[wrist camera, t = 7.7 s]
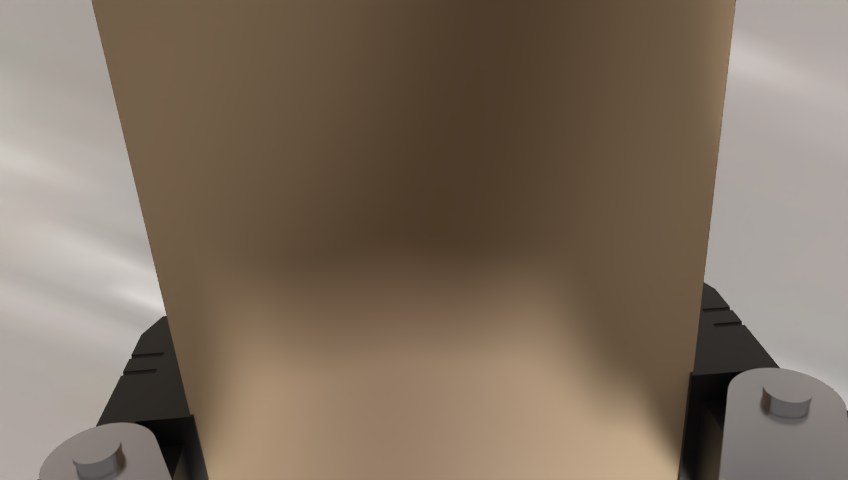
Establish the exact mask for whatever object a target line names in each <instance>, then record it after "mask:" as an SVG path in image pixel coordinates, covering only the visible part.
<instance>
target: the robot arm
mask: <svg viewBox="0 0 848 480" xmlns="http://www.w3.org/2000/svg"><path fill="white" fill-rule="evenodd" d="M38 480H209V477H208V473H207V469H206V464H205V460H204V456H203V452H202V447H201V443H200V439H199V435H198V430H197V426H196V422H195V418H194V414H191V415H190V411H189V407H188V403H187V399H186V395H185V390H184V386H183V382H182V378H181V374H180V369H179V365H178V361H177V357H176V353H175V348H174V344H173V340H172V336H171V332H170V327H169V323H168V319H167V316H163V317H162V318H161V319H159V320H158V321H157V322H156V323H155V324H154V325H152V326H151V327H150V328H149V329H148V330H147V331H145V332H144V333H143V334H142V335H141V337H140V339H139V341H138V343H137V345H136V347H135V349H134V351H133V353H132V359H129V361H128V363H127V365H126V367H125V369H124V371H123V376H121V377H120V379H119V381H118V383H117V385H116V387H115V389H114V391H113V393H112V395H111V397H110V399H109V401H108V403H107V405H106V407H105V409H104V411H103V413H102V415H101V417H100V419H99V421H98V423H97V425H96V427H94V428H90V429H88V430H85V431H83V432H81V433H79V434H77V435H75V436H73V437H71V438H69V439H68V440H66V441H65V442H63V443H62V444H61V445H59V446H58V447H57V448H56V449H55V450H54V451H53V452H52V453H51V454H50V455H49V456H48V457H47V459H46V460H45V461H44V463H43V465H42V467H41V470H40V473H39V479H38ZM678 480H848V411H847V409H846V406H845V403H844V401H843V400H842V398H841V397H840V396H839V395H838V393H837V392H835V391H834V390H833V389H832V388H831V387H829V386H828V385H826V384H825V383H823V382H822V381H820V380H818V379H816V378H814V377H811V376H809V375H806V374H803V373H800V372H796V371H792V370H787V369H780V368H779V366H778V365H777V364H776V363H775V361H774V360H773V359H772V358H771V357H770V355H769V354H768V353H767V352H766V350H765V349H764V348H763V347H762V346H761V344H760V343H759V342H758V341H757V340H756V338H755V337H754V336H753V335H752V333H751V332H750V331H749V330H748V329H747V327H746V326H745V325H742V321H741V320H740V319H739V318H738V316H737V315H736V314H735V313H734V312H733V310H730V307H729V305H728V304H727V303H726V302H725V301H724V299H723V298H722V297H721V296H720V294H719V293H718V292H717V291H716V290H715V289H714V288H712V287H711V286H709V285H707V284H705V283H704V282H703V291H702V299H701V308H700V317H699V325H698V334H697V343H696V351H695V360H694V369H693V372H690V376H689V385H688V393H687V402H686V411H685V420H684V429H683V438H682V447H681V455H680V464H679V473H678Z"/></svg>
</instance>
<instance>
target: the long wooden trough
mask: <svg viewBox="0 0 848 480" xmlns="http://www.w3.org/2000/svg"><path fill="white" fill-rule="evenodd" d="M92 4H93V9H94V13H95V17H96V21H97V25H98V30H99V34H100V38H101V42H102V46H103V51H104V55H105V59H106V63H107V67H108V71H109V76H110V80H111V84H112V88H113V92H114V97H115V101H116V105H117V109H118V113H119V118H120V122H121V126H122V130H123V134H124V139H125V143H126V147H127V151H128V155H129V160H130V164H131V168H132V172H133V176H134V181H135V185H136V189H137V193H138V197H139V202H140V206H141V210H142V214H143V218H144V223H145V227H146V231H147V235H148V239H149V244H150V248H151V252H152V256H153V260H154V265H155V269H156V273H157V277H158V281H159V286H160V290H161V294H162V298H163V302H164V307H165V311H166V315H167V319H168V323H169V327H170V332H171V336H172V340H173V344H174V348H175V353H176V357H177V361H178V365H179V369H180V374H181V378H182V382H183V386H184V390H185V395H186V399H187V403H188V407H189V411H190V415H191V414H194V418H195V422H196V426H197V430H198V435H199V439H200V443H201V447H202V452H203V456H204V460H205V464H206V469H207V473H208V477H209V480H678V473H679V464H680V455H681V447H682V438H683V429H684V420H685V411H686V402H687V393H688V385H689V376H690V372H693V369H694V360H695V351H696V343H697V334H698V325H699V317H700V308H701V299H702V291H703V282H704V273H705V265H706V256H707V247H708V239H709V230H710V221H711V213H712V204H713V195H714V187H715V178H716V169H717V160H718V152H719V143H720V134H721V126H722V117H723V108H724V100H725V91H726V82H727V74H728V65H729V56H730V48H731V39H732V30H733V22H734V13H735V4H736V0H92Z"/></svg>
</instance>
